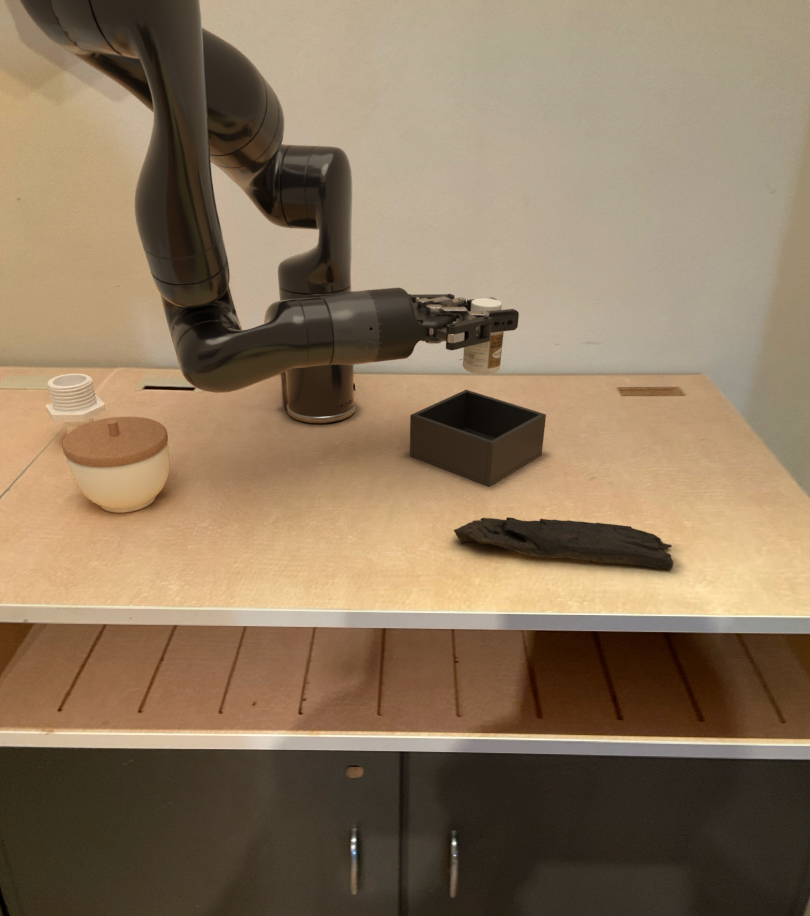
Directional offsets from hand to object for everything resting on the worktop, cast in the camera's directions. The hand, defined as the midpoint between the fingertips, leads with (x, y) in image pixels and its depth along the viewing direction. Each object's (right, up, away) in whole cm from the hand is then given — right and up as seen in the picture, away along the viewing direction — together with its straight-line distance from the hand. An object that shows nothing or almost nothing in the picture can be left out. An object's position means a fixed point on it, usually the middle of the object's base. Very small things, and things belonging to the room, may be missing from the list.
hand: (505, 313), depth 90 cm
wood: (+4, -27, -9) cm, 29 cm away
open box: (-3, -15, +9) cm, 18 cm away
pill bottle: (-3, -6, +3) cm, 7 cm away
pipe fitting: (-53, -13, +12) cm, 56 cm away
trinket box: (-43, -21, -2) cm, 48 cm away
